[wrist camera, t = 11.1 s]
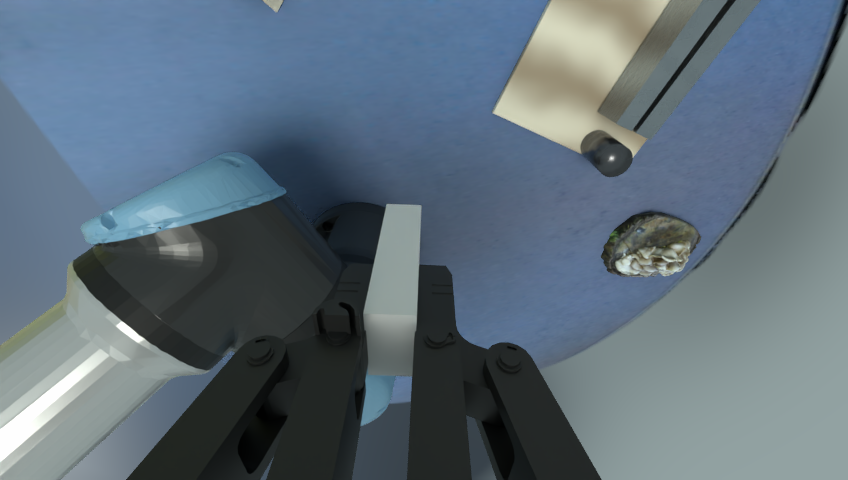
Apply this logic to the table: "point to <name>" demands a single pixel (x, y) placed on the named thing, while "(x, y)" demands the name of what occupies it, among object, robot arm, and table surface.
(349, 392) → the robot arm
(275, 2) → the condiment
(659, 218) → the log
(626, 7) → the board
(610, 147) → the tongs fixed
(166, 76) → the table surface
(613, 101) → the tong arm
